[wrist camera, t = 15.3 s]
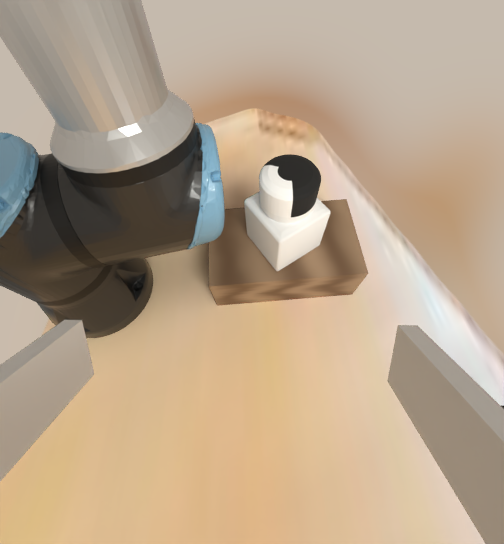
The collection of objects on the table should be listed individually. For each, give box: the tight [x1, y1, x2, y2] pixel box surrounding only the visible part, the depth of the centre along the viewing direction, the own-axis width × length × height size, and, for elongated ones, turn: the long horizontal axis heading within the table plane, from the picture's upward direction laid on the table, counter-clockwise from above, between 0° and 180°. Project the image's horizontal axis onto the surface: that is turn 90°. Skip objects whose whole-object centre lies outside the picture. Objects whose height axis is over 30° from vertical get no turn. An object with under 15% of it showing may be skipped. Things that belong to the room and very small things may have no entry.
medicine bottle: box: [244, 155, 330, 271], centre depth 32 cm, size 7×7×12 cm
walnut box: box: [209, 199, 368, 305], centre depth 40 cm, size 20×12×7 cm, turn 94°
